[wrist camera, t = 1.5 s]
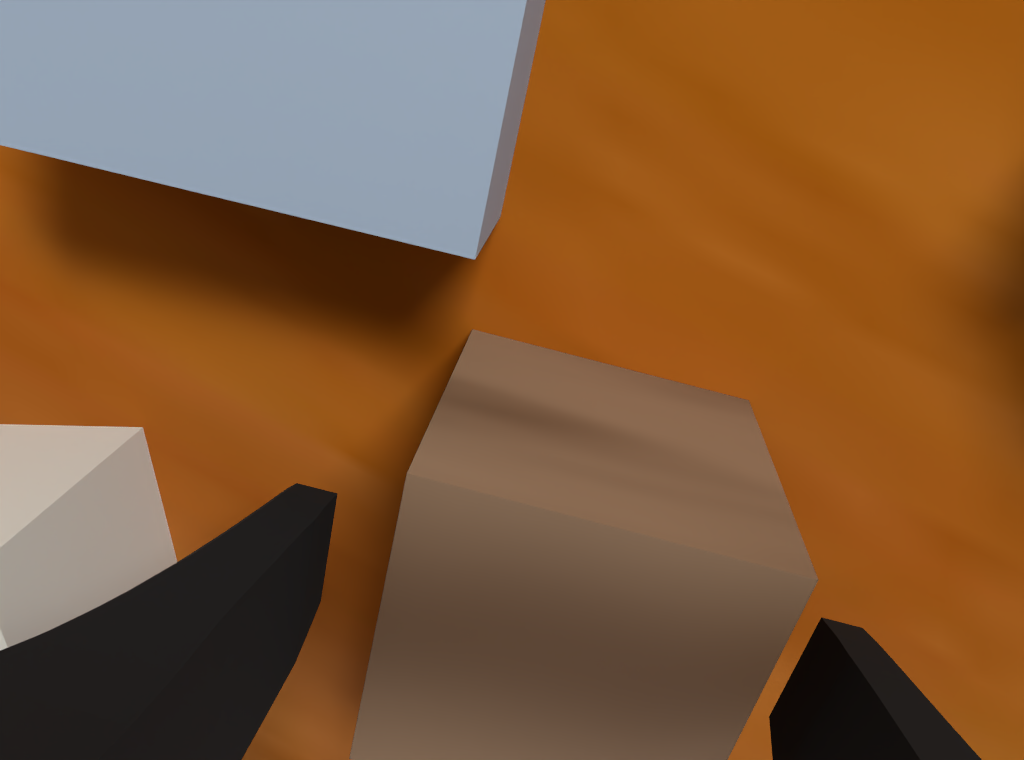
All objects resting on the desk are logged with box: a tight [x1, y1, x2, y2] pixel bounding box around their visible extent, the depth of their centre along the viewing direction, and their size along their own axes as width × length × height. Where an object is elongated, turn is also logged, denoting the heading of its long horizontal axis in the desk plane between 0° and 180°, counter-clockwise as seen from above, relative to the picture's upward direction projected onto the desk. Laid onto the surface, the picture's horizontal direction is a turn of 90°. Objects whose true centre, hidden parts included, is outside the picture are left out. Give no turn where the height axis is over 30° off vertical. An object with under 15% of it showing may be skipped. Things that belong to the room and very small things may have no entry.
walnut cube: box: [349, 329, 818, 760], centre depth 12 cm, size 5×5×5 cm
